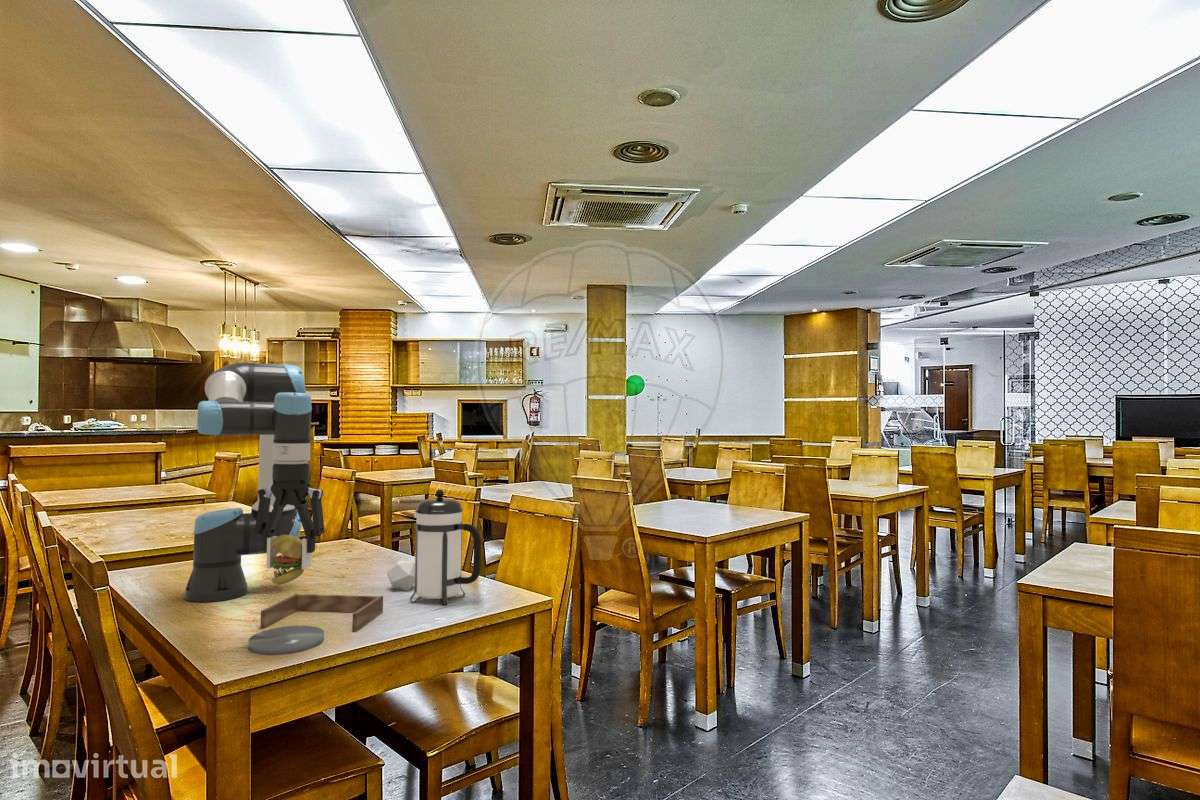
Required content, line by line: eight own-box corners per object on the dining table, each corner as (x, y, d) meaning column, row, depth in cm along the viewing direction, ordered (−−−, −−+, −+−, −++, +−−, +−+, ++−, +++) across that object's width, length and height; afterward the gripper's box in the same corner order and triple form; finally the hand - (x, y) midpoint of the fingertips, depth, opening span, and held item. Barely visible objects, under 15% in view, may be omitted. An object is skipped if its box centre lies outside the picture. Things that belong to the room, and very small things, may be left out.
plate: (233, 653, 142) (233, 645, 142) (272, 631, 157) (272, 624, 157) (303, 655, 141) (303, 648, 141) (335, 633, 156) (335, 626, 156)
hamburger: (278, 579, 153) (279, 526, 153) (311, 579, 153) (312, 525, 154) (264, 588, 145) (265, 531, 145) (299, 587, 146) (300, 531, 146)
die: (425, 589, 200) (417, 559, 205) (415, 580, 193) (408, 550, 198) (398, 600, 199) (391, 570, 204) (387, 591, 192) (381, 560, 197)
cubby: (260, 628, 159) (260, 610, 159) (295, 609, 175) (295, 593, 175) (356, 631, 158) (356, 613, 158) (382, 612, 173) (383, 596, 174)
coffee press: (414, 610, 175) (416, 493, 176) (406, 595, 190) (408, 487, 191) (480, 603, 182) (482, 491, 183) (467, 590, 197) (469, 486, 198)
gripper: (237, 462, 147) (234, 569, 146) (328, 464, 146) (325, 572, 145) (257, 461, 154) (254, 562, 154) (343, 462, 153) (341, 564, 152)
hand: (288, 567), depth 149 cm, fingers closed on hamburger, 7 cm apart
